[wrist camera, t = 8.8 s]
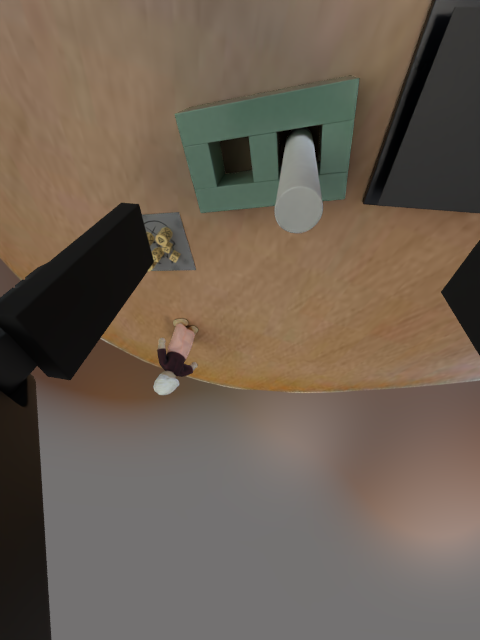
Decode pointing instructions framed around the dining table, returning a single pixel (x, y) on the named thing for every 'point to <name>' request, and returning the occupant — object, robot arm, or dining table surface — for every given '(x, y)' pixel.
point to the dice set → (168, 242)
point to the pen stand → (268, 141)
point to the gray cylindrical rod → (299, 184)
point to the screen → (444, 128)
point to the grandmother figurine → (175, 357)
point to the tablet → (412, 91)
